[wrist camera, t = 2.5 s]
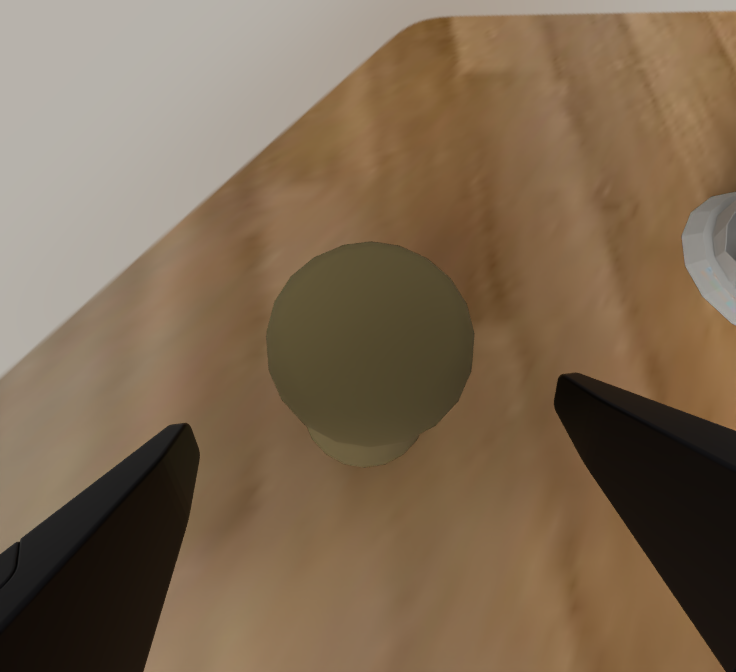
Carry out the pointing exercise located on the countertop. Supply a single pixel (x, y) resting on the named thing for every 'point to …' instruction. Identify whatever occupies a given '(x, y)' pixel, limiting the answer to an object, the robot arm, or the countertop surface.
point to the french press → (713, 252)
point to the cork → (369, 349)
